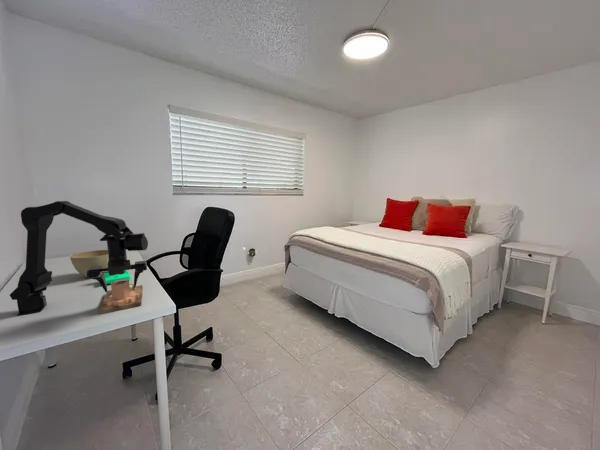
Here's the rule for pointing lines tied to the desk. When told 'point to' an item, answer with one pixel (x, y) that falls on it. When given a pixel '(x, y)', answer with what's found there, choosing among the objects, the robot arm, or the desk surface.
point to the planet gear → (120, 294)
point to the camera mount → (116, 277)
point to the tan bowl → (89, 260)
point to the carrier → (129, 305)
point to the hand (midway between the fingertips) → (121, 289)
